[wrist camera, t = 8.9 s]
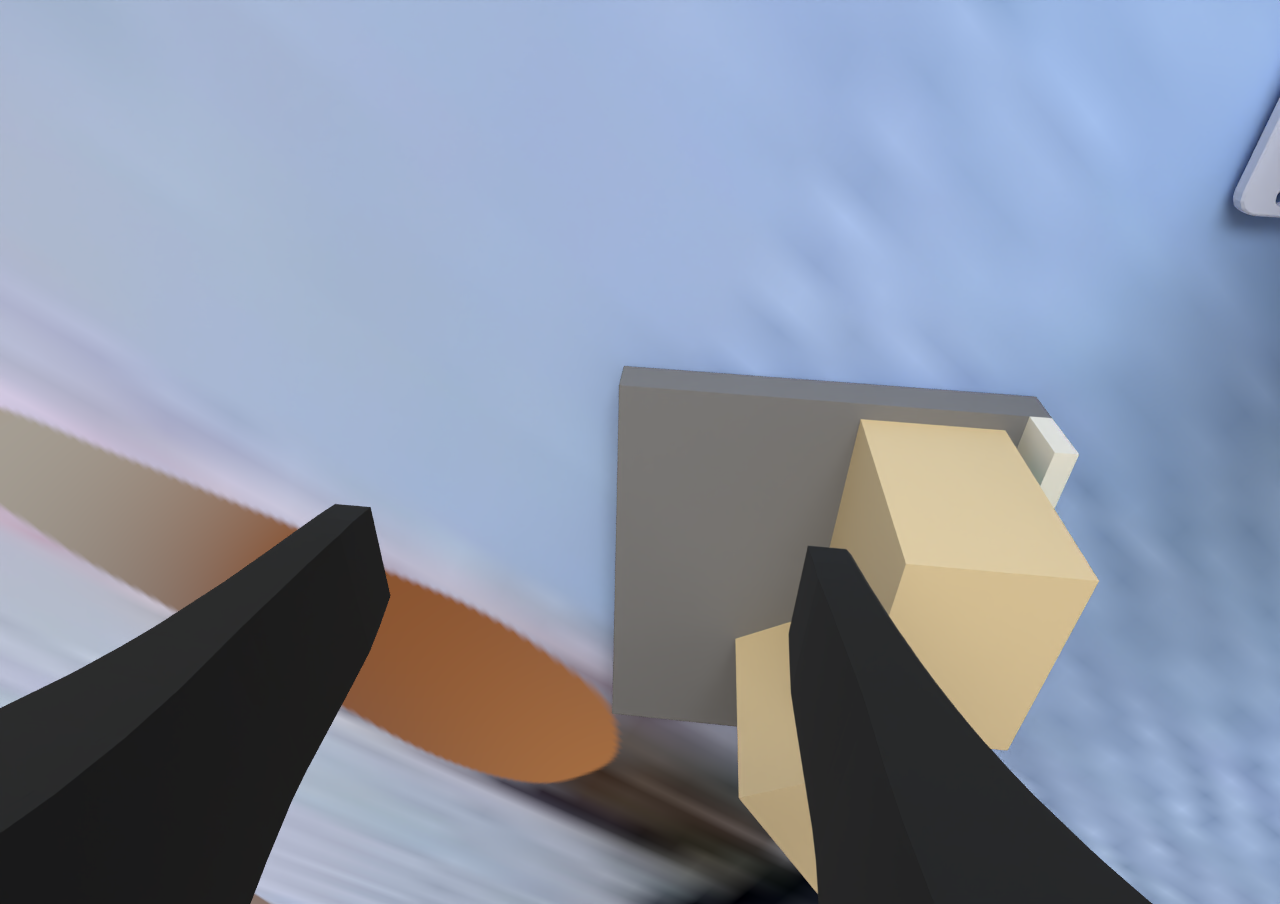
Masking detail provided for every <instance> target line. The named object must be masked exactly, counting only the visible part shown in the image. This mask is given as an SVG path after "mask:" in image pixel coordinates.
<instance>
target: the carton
mask: <svg viewBox="0 0 1280 904" xmlns="http://www.w3.org/2000/svg"><path fill="white" fill-rule="evenodd" d="M790 625H791V622H788V623H785V624H782V625H778V626H775V627H772V628H769V629H766V630H762V631H759V632H756V633H753V634H749V635H746V636H743V637H740V638H736V639H735V644H736V690H737V736H738V782H739V799H740V800H741V801H742V802H743V804H744V805H745V806H746V807H747V809H748V810H749V811H750V812H751V813H752V815H753V816H754V817H755V818H756V819H757V821H758V822H759V823H760V824H761V826H762V827H763V828H764V829H765V830H766V832H767V833H768V834H769V835H770V836H771V838H772V839H773V840H774V841H775V843H776V844H777V845H778V846H779V847H780V849H781V850H782V851H783V852H784V853H785V855H786V856H787V857H788V858H789V860H790V861H791V862H792V863H793V864H794V866H795V867H796V868H797V869H798V870H799V872H800V873H801V874H802V875H803V877H804V878H805V879H806V880H807V881H808V883H809V884H810V885H811V886H812V887H813V889H814V890H815V891H816V892H817V894H818V887H817V872H816V858H815V849H814V841H813V832H812V825H811V819H810V812H809V806H808V800H807V794H806V787H805V781H804V775H803V768H802V762H801V756H800V750H799V743H798V737H797V730H796V724H795V717H794V711H793V704H792V697H791V686H790V665H789V635H788V634H789V629H790Z"/></svg>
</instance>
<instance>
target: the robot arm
mask: <svg viewBox="0 0 1280 904" xmlns="http://www.w3.org/2000/svg"><path fill="white" fill-rule="evenodd" d="M1279 192H1280V98H1279V100H1278V102H1277V104H1276V106H1275V108H1274V110H1273V112H1272V115H1271V117H1270V119H1269V121H1268V123H1267V125H1266V127H1265V129H1264V131H1263V133H1262V135H1261V137H1260V139H1259V141H1258V144H1257V146H1256V148H1255V150H1254V152H1253V154H1252V156H1251V158H1250V160H1249V162H1248V164H1247V166H1246V168H1245V170H1244V172H1243V175H1242V177H1241V179H1240V181H1239V183H1238V185H1237V187H1236V189H1235V192H1234V196H1233V202H1234V206H1235V207H1236V208H1237V209H1238V210H1239V211H1241V212H1244V213H1246V214H1249V215H1252V216H1263V217H1280V202H1277V203H1276V202H1275V201H1276V197H1277V195H1278V193H1279ZM389 598H390V592H389V588H388V583H387V579H386V574H385V570H384V565H383V561H382V556H381V552H380V547H379V543H378V539H377V534H376V530H375V525H374V521H373V516H372V512H371V507H362V506H351V505H339V504H335V505H333V506H332V507H330V508H328V509H327V510H325V511H324V512H322V513H321V514H319V515H318V516H317V517H315V518H314V519H312V520H311V521H309V522H308V523H307V524H305V525H304V526H302V527H301V528H300V529H298V530H297V531H295V532H294V533H293V534H291V535H290V536H288V537H287V538H286V539H284V540H283V541H281V542H280V543H279V544H277V545H276V546H274V547H273V548H272V549H270V550H269V551H267V552H266V553H265V554H263V555H262V556H260V557H259V558H258V559H256V560H255V561H253V562H252V563H250V564H249V565H247V566H246V567H245V568H243V569H242V570H240V571H239V572H238V573H236V574H235V575H233V576H232V577H230V578H229V579H227V580H226V581H225V582H223V583H222V584H220V585H219V586H217V587H215V588H214V589H212V590H211V591H209V592H208V593H206V594H205V595H203V596H202V597H200V598H198V599H197V600H195V601H194V602H193V603H191V604H189V605H188V606H186V607H185V608H183V609H181V610H180V611H178V612H177V613H175V614H174V615H172V616H171V617H169V618H168V619H166V620H164V621H163V622H161V623H160V624H158V625H156V626H155V627H153V628H151V629H150V630H148V631H147V632H145V633H143V634H141V635H140V636H138V637H136V638H135V639H133V640H131V641H129V642H128V643H126V644H124V645H123V646H121V647H119V648H117V649H115V650H114V651H112V652H110V653H108V654H106V655H104V656H103V657H101V658H99V659H97V660H95V661H94V662H92V663H90V664H88V665H86V666H85V667H83V668H81V669H79V670H77V671H75V672H73V673H71V674H69V675H67V676H65V677H63V678H61V679H59V680H57V681H55V682H53V683H51V684H49V685H47V686H45V687H43V688H41V689H39V690H37V691H35V692H32V693H30V694H28V695H26V696H24V697H22V698H20V699H18V700H16V701H14V702H12V703H10V704H8V705H6V706H4V707H2V708H0V904H250V903H251V901H252V898H253V896H254V893H255V890H256V888H257V885H258V883H259V880H260V877H261V875H262V872H263V870H264V867H265V864H266V862H267V859H268V857H269V855H270V852H271V850H272V847H273V845H274V843H275V840H276V838H277V835H278V833H279V831H280V828H281V826H282V823H283V821H284V818H285V816H286V814H287V811H288V809H289V806H290V804H291V802H292V799H293V797H294V795H295V793H296V791H297V789H298V787H299V785H300V783H301V781H302V779H303V777H304V775H305V773H306V771H307V769H308V767H309V765H310V763H311V761H312V759H313V758H314V756H315V754H316V752H317V750H318V748H319V746H320V745H321V743H322V741H323V739H324V737H325V735H326V733H327V731H328V730H329V728H330V726H331V724H332V722H333V720H334V718H335V717H336V715H337V713H338V711H339V709H340V707H341V705H342V703H343V702H344V700H345V698H346V696H347V694H348V692H349V690H350V688H351V687H352V685H353V682H354V681H355V679H356V677H357V675H358V673H359V671H360V669H361V667H362V666H363V664H364V662H365V660H366V658H367V656H368V654H369V652H370V650H371V647H372V644H373V642H374V639H375V637H376V634H377V631H378V629H379V627H380V624H381V621H382V618H383V615H384V612H385V610H386V607H387V604H388V601H389ZM788 635H789V665H790V686H791V697H792V704H793V711H794V717H795V724H796V730H797V737H798V743H799V750H800V756H801V762H802V768H803V775H804V781H805V787H806V794H807V800H808V806H809V812H810V819H811V825H812V832H813V841H814V849H815V858H816V872H817V887H818V902H819V904H1152V903H1151V902H1149V901H1148V900H1147V899H1146V898H1145V897H1144V896H1143V895H1141V894H1140V893H1139V892H1138V891H1137V890H1136V889H1134V888H1133V887H1132V886H1131V885H1130V884H1129V883H1128V882H1126V881H1125V880H1124V879H1123V878H1122V877H1121V876H1119V875H1118V874H1117V873H1116V872H1115V871H1114V870H1113V869H1111V868H1110V867H1109V866H1108V865H1107V864H1106V863H1105V862H1104V861H1102V860H1101V859H1100V858H1099V857H1098V856H1097V855H1096V854H1095V853H1094V852H1093V851H1091V850H1090V849H1089V848H1088V847H1087V846H1086V845H1085V844H1084V843H1083V842H1082V841H1081V840H1080V839H1079V838H1078V837H1077V836H1076V835H1075V834H1074V833H1073V832H1072V831H1071V830H1070V829H1068V828H1067V827H1066V826H1065V825H1064V824H1063V823H1062V822H1061V821H1060V820H1059V819H1058V818H1057V817H1056V816H1055V815H1054V814H1053V813H1052V812H1051V811H1050V810H1049V809H1048V808H1047V807H1046V806H1045V805H1043V804H1042V803H1041V802H1040V801H1039V800H1038V799H1037V798H1036V797H1035V796H1034V795H1033V794H1032V793H1031V792H1030V791H1029V790H1028V789H1027V788H1026V786H1025V785H1024V784H1023V783H1022V782H1021V781H1020V780H1019V779H1018V778H1017V777H1016V776H1015V775H1014V774H1013V773H1012V772H1011V771H1010V770H1009V769H1008V768H1007V766H1006V765H1005V764H1004V763H1003V762H1002V761H1001V760H1000V759H999V758H998V756H997V755H996V754H995V753H994V752H993V751H992V750H991V749H990V748H989V746H988V745H987V744H986V743H985V742H984V741H983V740H982V739H981V737H980V736H979V735H978V734H977V733H976V732H975V730H974V729H973V728H972V727H971V726H970V724H969V723H968V722H967V721H966V720H965V718H964V717H963V716H962V715H961V713H960V712H959V711H958V710H957V709H956V707H955V706H954V705H953V703H952V702H951V701H950V700H949V698H948V697H947V696H946V695H945V693H944V692H943V691H942V689H941V688H940V687H939V686H938V684H937V683H936V682H935V680H934V679H933V678H932V676H931V675H930V674H929V672H928V671H927V670H926V668H925V667H924V666H923V664H922V663H921V662H920V660H919V659H918V657H917V656H916V654H915V653H914V652H913V650H912V649H911V647H910V646H909V644H908V643H907V642H906V640H905V639H904V637H903V636H902V634H901V633H900V632H899V630H898V629H897V627H896V626H895V624H894V623H893V621H892V620H891V618H890V617H889V615H888V614H887V612H886V610H885V609H884V607H883V606H882V604H881V603H880V601H879V600H878V598H877V596H876V595H875V593H874V592H873V590H872V588H871V587H870V585H869V583H868V582H867V580H866V579H865V577H864V575H863V574H862V572H861V570H860V568H859V567H858V565H857V563H856V562H855V560H854V558H853V557H852V555H851V554H850V553H849V552H848V550H847V549H840V548H829V547H817V546H808V547H807V552H806V556H805V561H804V565H803V570H802V575H801V579H800V584H799V588H798V593H797V597H796V602H795V606H794V611H793V616H792V620H791V625H790V629H789V634H788Z"/></svg>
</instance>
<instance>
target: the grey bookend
mask: <svg viewBox="0 0 1280 904" xmlns="http://www.w3.org/2000/svg"><path fill="white" fill-rule="evenodd" d="M861 419H865V420H878V421H891V422H904V423H916V424H929V425H942V426H955V427H968V428H981V429H994V430H1005V431H1006V432H1007V434H1008V436H1009V437H1010V439H1011V440H1012V442H1013V444H1014V445H1015V447H1016V448H1017V450H1018V452H1019V453H1020V455H1021V456H1022V458H1023V460H1024V461H1025V463H1026V464H1027V466H1028V468H1029V469H1030V471H1031V472H1032V474H1033V476H1034V477H1035V479H1036V481H1037V482H1038V484H1039V485H1040V487H1041V489H1042V490H1043V492H1044V493H1045V495H1046V497H1047V498H1048V500H1049V501H1050V503H1051V505H1052V506H1053V508H1055V506H1056V504H1057V502H1058V500H1059V498H1060V495H1061V493H1062V491H1063V489H1064V487H1065V484H1066V482H1067V480H1068V478H1069V476H1070V473H1071V471H1072V469H1073V467H1074V465H1075V463H1076V460H1077V458H1078V456H1079V454H1078V452H1077V451H1076V450H1075V448H1074V447H1073V446H1072V444H1071V443H1070V442H1069V440H1068V439H1067V438H1066V436H1065V435H1064V434H1063V432H1062V431H1061V430H1060V428H1059V427H1058V426H1057V424H1056V423H1055V421H1054V420H1053V419H1052V417H1051V416H1050V415H1049V413H1048V412H1047V411H1046V409H1045V408H1044V407H1043V405H1042V404H1041V403H1040V401H1039V400H1038V399H1037V397H1032V396H1018V395H1005V394H991V393H978V392H965V391H951V390H938V389H924V388H911V387H897V386H884V385H871V384H857V383H844V382H830V381H817V380H803V379H790V378H777V377H763V376H750V375H736V374H723V373H710V372H696V371H683V370H669V369H656V368H642V367H629V366H624V368H623V372H622V376H621V380H620V384H619V420H618V468H617V515H616V563H615V611H614V658H613V706H612V714H621V715H631V716H641V717H650V718H660V719H670V720H679V721H689V722H699V723H708V724H718V725H728V726H737V690H736V644H735V639H736V638H740V637H743V636H746V635H749V634H753V633H756V632H759V631H762V630H766V629H769V628H772V627H775V626H778V625H782V624H785V623H788V622H791V620H792V616H793V611H794V606H795V602H796V597H797V593H798V588H799V584H800V579H801V575H802V570H803V565H804V561H805V556H806V552H807V547H808V546H817V547H829V548H830V544H831V540H832V535H833V531H834V527H835V523H836V519H837V515H838V511H839V507H840V502H841V498H842V494H843V490H844V486H845V482H846V478H847V474H848V469H849V465H850V461H851V457H852V453H853V449H854V445H855V441H856V436H857V432H858V428H859V424H860V420H861Z"/></svg>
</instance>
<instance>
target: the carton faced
mask: <svg viewBox="0 0 1280 904" xmlns="http://www.w3.org/2000/svg"><path fill="white" fill-rule="evenodd" d="M830 548H840V549H847V550H848V552H849V553H850V554H851V555H852V557H853V558H854V560H855V562H856V563H857V565H858V567H859V568H860V570H861V572H862V574H863V575H864V577H865V579H866V580H867V582H868V583H869V585H870V587H871V588H872V590H873V592H874V593H875V595H876V596H877V598H878V600H879V601H880V603H881V604H882V606H883V607H884V609H885V610H886V612H887V614H888V615H889V617H890V618H891V620H892V621H893V623H894V624H895V626H896V627H897V629H898V630H899V632H900V633H901V634H902V636H903V637H904V639H905V640H906V642H907V643H908V644H909V646H910V647H911V649H912V650H913V652H914V653H915V654H916V656H917V657H918V659H919V660H920V662H921V663H922V664H923V666H924V667H925V668H926V670H927V671H928V672H929V674H930V675H931V676H932V678H933V679H934V680H935V682H936V683H937V684H938V686H939V687H940V688H941V689H942V691H943V692H944V693H945V695H946V696H947V697H948V698H949V700H950V701H951V702H952V703H953V705H954V706H955V707H956V709H957V710H958V711H959V712H960V713H961V715H962V716H963V717H964V718H965V720H966V721H967V722H968V723H969V724H970V726H971V727H972V728H973V729H974V730H975V732H976V733H977V734H978V735H979V736H980V737H981V739H982V740H983V741H984V742H985V743H986V744H987V745H988V746H989V748H990V749H999V750H1008V748H1009V746H1010V745H1011V743H1012V741H1013V739H1014V737H1015V735H1016V734H1017V732H1018V730H1019V728H1020V726H1021V724H1022V722H1023V721H1024V719H1025V717H1026V715H1027V713H1028V711H1029V709H1030V708H1031V706H1032V704H1033V702H1034V700H1035V698H1036V697H1037V695H1038V693H1039V691H1040V689H1041V687H1042V685H1043V684H1044V682H1045V680H1046V678H1047V676H1048V674H1049V672H1050V671H1051V669H1052V667H1053V665H1054V663H1055V661H1056V659H1057V658H1058V656H1059V654H1060V652H1061V650H1062V648H1063V647H1064V645H1065V643H1066V641H1067V639H1068V637H1069V635H1070V634H1071V632H1072V630H1073V628H1074V626H1075V624H1076V622H1077V621H1078V619H1079V617H1080V615H1081V613H1082V611H1083V610H1084V608H1085V606H1086V604H1087V602H1088V600H1089V598H1090V597H1091V595H1092V593H1093V591H1094V589H1095V587H1096V585H1097V584H1098V582H1099V580H1098V579H1097V577H1096V575H1095V574H1094V572H1093V570H1092V569H1091V567H1090V566H1089V564H1088V562H1087V561H1086V559H1085V558H1084V556H1083V554H1082V553H1081V551H1080V550H1079V548H1078V546H1077V545H1076V543H1075V542H1074V540H1073V538H1072V537H1071V535H1070V534H1069V532H1068V530H1067V529H1066V527H1065V525H1064V524H1063V522H1062V521H1061V519H1060V517H1059V516H1058V514H1057V513H1056V511H1055V509H1054V508H1053V506H1052V505H1051V503H1050V501H1049V500H1048V498H1047V497H1046V495H1045V493H1044V492H1043V490H1042V489H1041V487H1040V485H1039V484H1038V482H1037V481H1036V479H1035V477H1034V476H1033V474H1032V472H1031V471H1030V469H1029V468H1028V466H1027V464H1026V463H1025V461H1024V460H1023V458H1022V456H1021V455H1020V453H1019V452H1018V450H1017V448H1016V447H1015V445H1014V444H1013V442H1012V440H1011V439H1010V437H1009V436H1008V434H1007V432H1006V431H1005V430H994V429H981V428H968V427H955V426H942V425H929V424H916V423H904V422H891V421H878V420H865V419H861V420H860V424H859V428H858V432H857V436H856V441H855V445H854V449H853V453H852V457H851V461H850V465H849V469H848V474H847V478H846V482H845V486H844V490H843V494H842V498H841V502H840V507H839V511H838V515H837V519H836V523H835V527H834V531H833V535H832V540H831V544H830Z"/></svg>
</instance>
